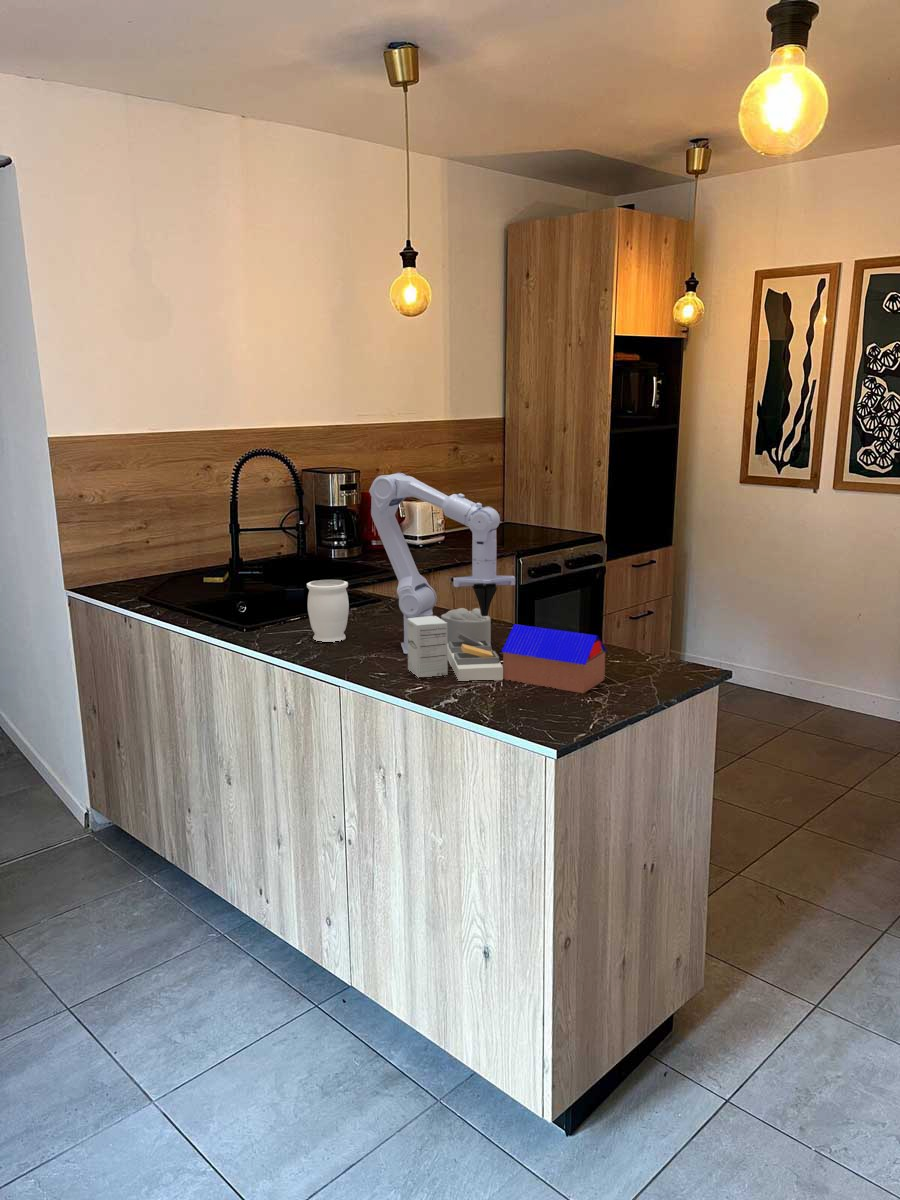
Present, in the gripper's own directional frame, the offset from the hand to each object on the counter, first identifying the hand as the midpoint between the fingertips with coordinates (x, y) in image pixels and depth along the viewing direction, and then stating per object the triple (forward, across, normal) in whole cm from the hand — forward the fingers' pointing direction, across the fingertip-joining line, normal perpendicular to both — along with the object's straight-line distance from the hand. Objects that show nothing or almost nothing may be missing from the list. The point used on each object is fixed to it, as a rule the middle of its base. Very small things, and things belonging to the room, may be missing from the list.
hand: (484, 615), depth 220 cm
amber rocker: (+6, -4, -13) cm, 15 cm away
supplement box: (+11, -15, -12) cm, 22 cm away
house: (+11, +12, -20) cm, 26 cm away
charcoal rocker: (+6, -4, -3) cm, 8 cm away
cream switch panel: (+10, -4, -8) cm, 14 cm away
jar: (+11, -37, +23) cm, 45 cm away
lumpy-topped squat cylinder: (+11, -2, +13) cm, 17 cm away
